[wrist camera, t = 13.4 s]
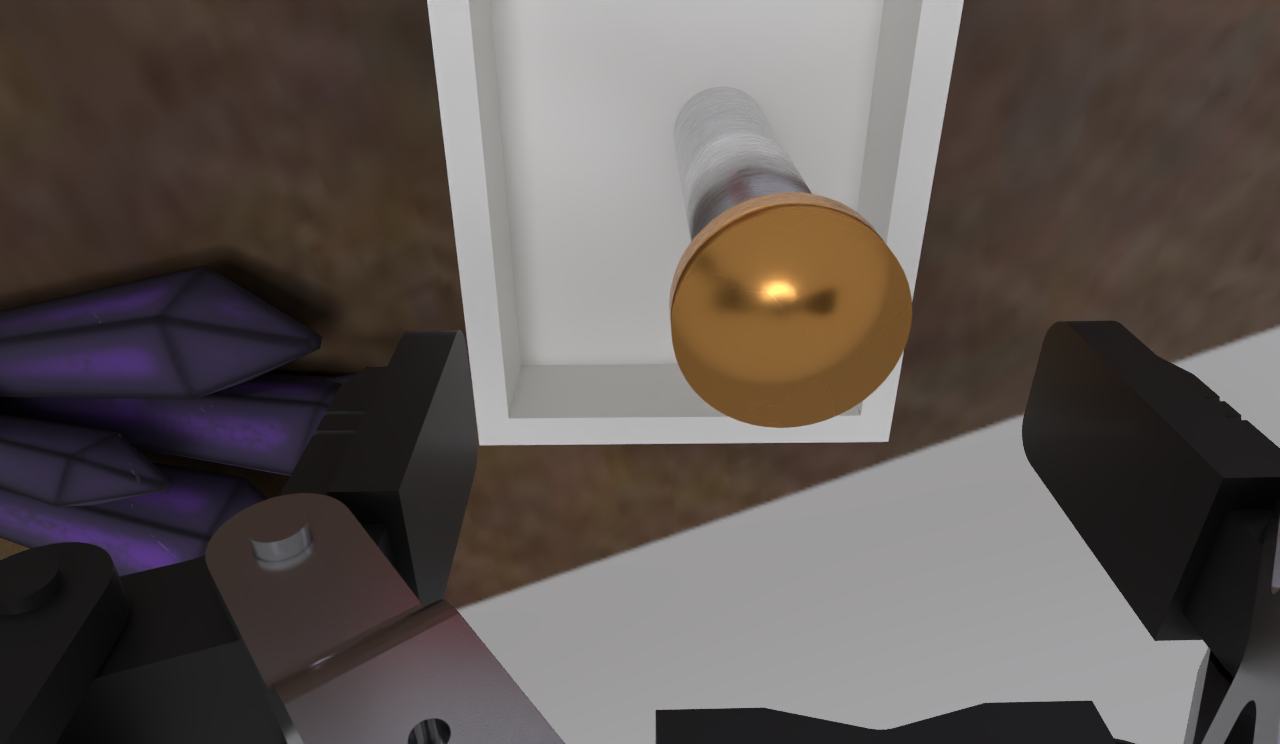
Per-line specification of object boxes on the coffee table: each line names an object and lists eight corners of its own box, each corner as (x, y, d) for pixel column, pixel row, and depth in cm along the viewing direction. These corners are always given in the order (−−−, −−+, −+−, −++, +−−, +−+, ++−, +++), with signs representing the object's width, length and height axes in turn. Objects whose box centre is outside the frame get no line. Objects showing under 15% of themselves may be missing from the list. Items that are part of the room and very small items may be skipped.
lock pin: (653, 64, 24) (673, 213, 13) (792, 64, 24) (931, 211, 13) (653, 199, 26) (669, 428, 15) (780, 198, 26) (893, 426, 15)
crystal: (-221, 605, 27) (393, 679, 27) (-357, 260, 22) (383, 342, 22) (-42, 489, 34) (453, 547, 33) (-120, 203, 29) (455, 266, 29)
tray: (434, -233, 21) (396, -257, 18) (947, -234, 21) (1007, -259, 18) (497, 381, 30) (479, 445, 27) (858, 378, 30) (888, 441, 27)
